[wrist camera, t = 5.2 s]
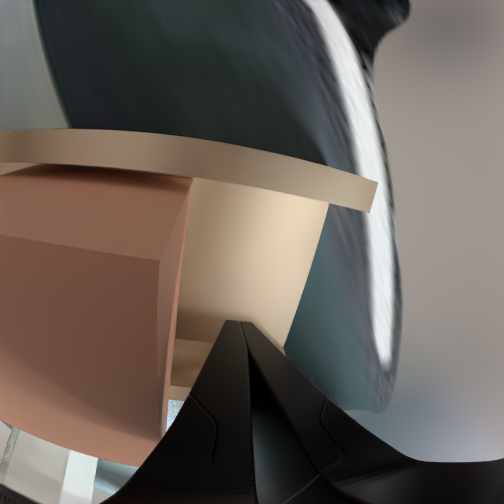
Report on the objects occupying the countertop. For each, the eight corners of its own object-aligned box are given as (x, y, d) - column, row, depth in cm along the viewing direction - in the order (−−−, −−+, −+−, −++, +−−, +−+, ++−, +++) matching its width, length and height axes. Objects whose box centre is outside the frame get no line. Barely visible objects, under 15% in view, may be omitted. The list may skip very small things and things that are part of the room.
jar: (39, 392, 15) (1, 511, 4) (114, 442, 18) (103, 554, 7) (13, 411, 16) (-16, 499, 5) (73, 452, 19) (59, 538, 8)
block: (193, 179, 10) (159, 259, 3) (175, 332, 12) (164, 470, 6) (36, 164, 8) (-92, 214, 2) (46, 307, 11) (-17, 410, 4)
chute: (328, 166, 11) (377, 182, 8) (274, 348, 15) (291, 404, 11) (-58, 140, 7) (-99, 151, 3) (-45, 283, 10) (-74, 312, 7)
